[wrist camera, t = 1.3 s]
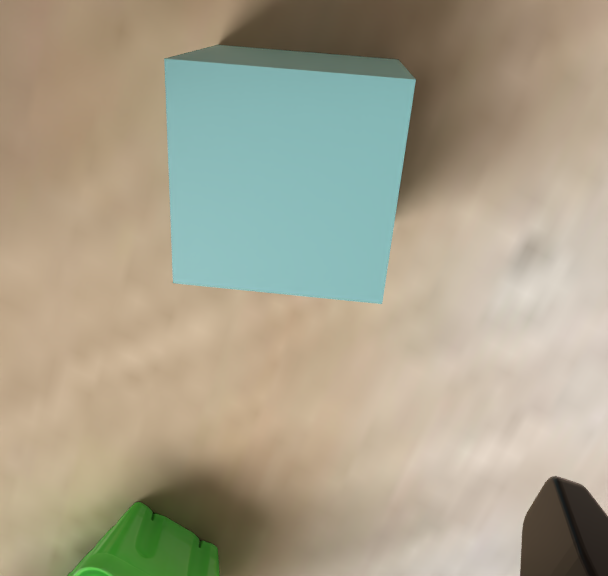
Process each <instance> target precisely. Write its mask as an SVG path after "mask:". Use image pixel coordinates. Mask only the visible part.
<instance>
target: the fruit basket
mask: <svg viewBox="0 0 608 576" xmlns="http://www.w3.org/2000/svg"><path fill="white" fill-rule="evenodd" d="M67 576H220V575H219V560H218V548H217V547H216V546H215V545H213V544H211V543H209V542H206V541H199V538H198V537H197V536H196V535H195V534H194V533H192V532H191V531H189V530H187V529H186V528H184V527H182V526H180V525H179V524H177V523H175V522H174V521H172V520H170V519H169V518H167V517H165V516H162V515H159V514H156V513H155V514H153V512H152V510H150V509H149V508H148V507H147V506H146V505H145V504H143V503H141V502H136V503H134V504H133V505H132V506H131V507H130V508H129V509H128V511H127V512H126V513H125V514H124V515H123V516H122V517H121V518H120V520H119V521H118V522H117V524H116V525H115V526H113V527H112V528H111V529H110V530H109V531H108V532H107V533H106V534H105V535H104V536H103V538H102V539H101V540H100V541H99V542H98V543H97V545H96V546H95V547H94V548H93V550H91V551H90V552H89V553H88V554H87V555H86V556H85V557H84V558H83V559H82V560H81V561H80V563H79V564H78V565H77V566H76V567H75V569H74V570H73V571H72V572H71V573H69V574H68V575H67Z"/></svg>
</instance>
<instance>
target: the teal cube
mask: <svg viewBox="0 0 608 576" xmlns="http://www.w3.org/2000/svg"><path fill="white" fill-rule="evenodd" d="M164 61H165V87H166V113H167V139H168V165H169V190H170V216H171V242H172V268H173V283H177V284H187V285H197V286H207V287H217V288H227V289H237V290H247V291H257V292H267V293H277V294H287V295H297V296H307V297H317V298H327V299H337V300H348V301H358V302H368V303H378V304H382V301H383V294H384V287H385V281H386V274H387V267H388V261H389V254H390V248H391V241H392V234H393V228H394V221H395V214H396V208H397V201H398V194H399V188H400V181H401V175H402V168H403V161H404V155H405V148H406V141H407V135H408V128H409V121H410V115H411V108H412V102H413V95H414V88H415V82H416V79H415V78H414V77H413V76H412V75H411V74H410V72H409V71H408V70H407V69H406V68H405V67H404V66H403V64H402V63H401V62H400V61H399V60H398V59H386V58H374V57H361V56H349V55H337V54H325V53H313V52H300V51H288V50H276V49H264V48H251V47H239V46H227V45H215V46H211V47H208V48H204V49H200V50H196V51H192V52H188V53H184V54H181V55H177V56H173V57H169V58H165V59H164Z"/></svg>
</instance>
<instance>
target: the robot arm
mask: <svg viewBox="0 0 608 576" xmlns="http://www.w3.org/2000/svg"><path fill="white" fill-rule="evenodd" d="M520 576H608V516H607V515H606V513H605V512H604V511H603V509H602V508H601V507H600V506H599V504H598V503H597V502H596V500H595V499H594V498H593V496H592V495H591V494H590V493H589V491H588V490H587V489H586V488H585V487H584V486H583V485H581V484H579V483H576V482H573V481H570V480H567V479H564V478H561V477H557V476H553V477H550V478H549V479H548V480H547V481H546V482H545V484H544V486H543V487H542V489H541V490H540V492H539V494H538V495H537V497H536V499H535V500H534V502H533V504H532V505H531V507H530V509H529V510H528V512H527V514H526V516H525V519H524V523H523V530H522V549H521V569H520Z"/></svg>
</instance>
